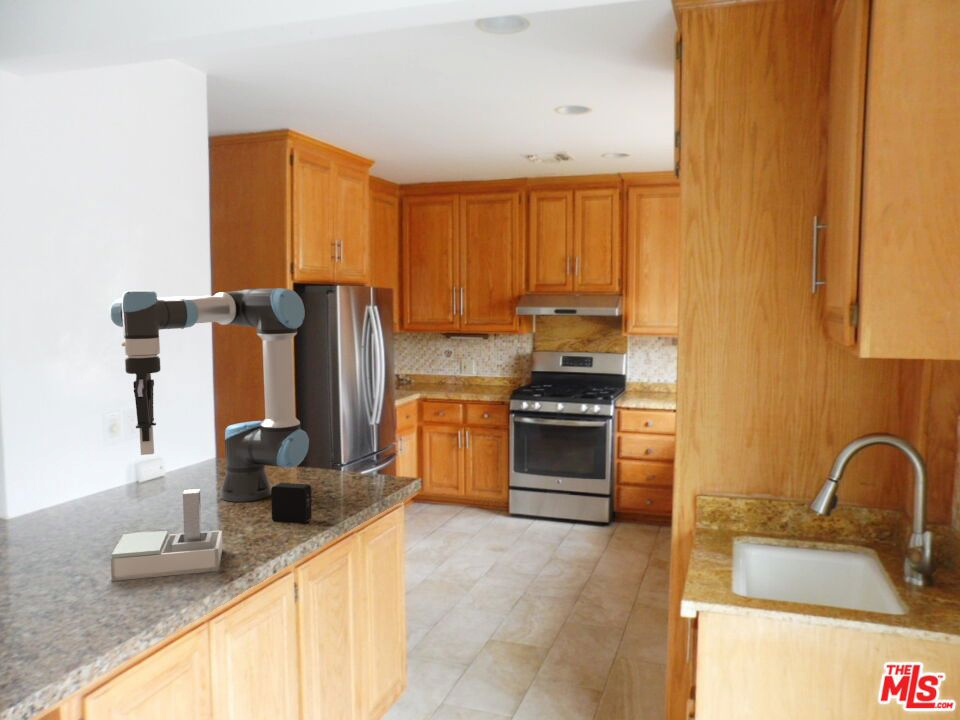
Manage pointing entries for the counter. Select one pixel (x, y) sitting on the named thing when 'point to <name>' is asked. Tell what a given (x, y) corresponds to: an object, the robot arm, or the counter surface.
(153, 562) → the housing
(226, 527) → the counter surface
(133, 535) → the lid
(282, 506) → the electronic device
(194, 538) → the rectangular gray bar
